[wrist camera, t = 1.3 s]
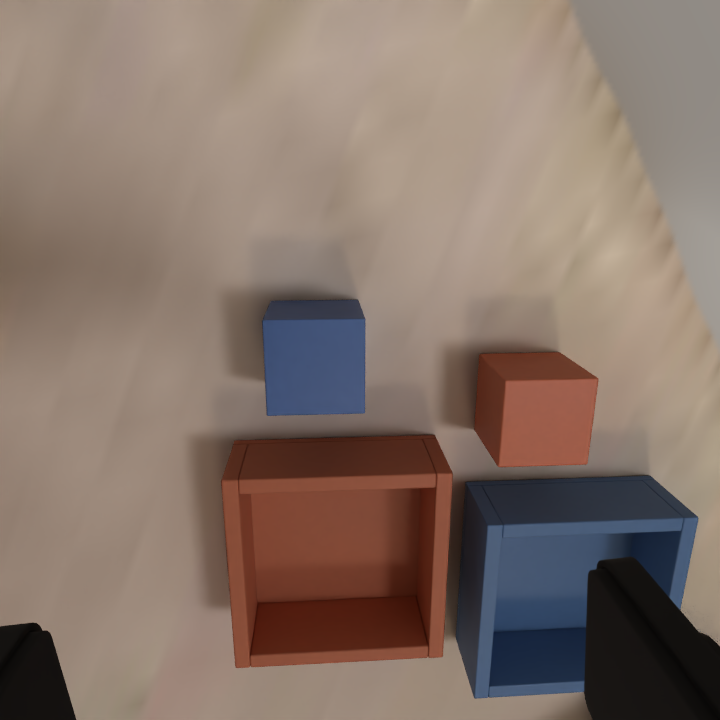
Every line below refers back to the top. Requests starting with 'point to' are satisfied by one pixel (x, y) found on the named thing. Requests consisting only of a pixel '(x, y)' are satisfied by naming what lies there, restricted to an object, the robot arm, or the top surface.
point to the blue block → (314, 357)
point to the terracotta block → (534, 409)
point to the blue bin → (554, 571)
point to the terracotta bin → (337, 549)
